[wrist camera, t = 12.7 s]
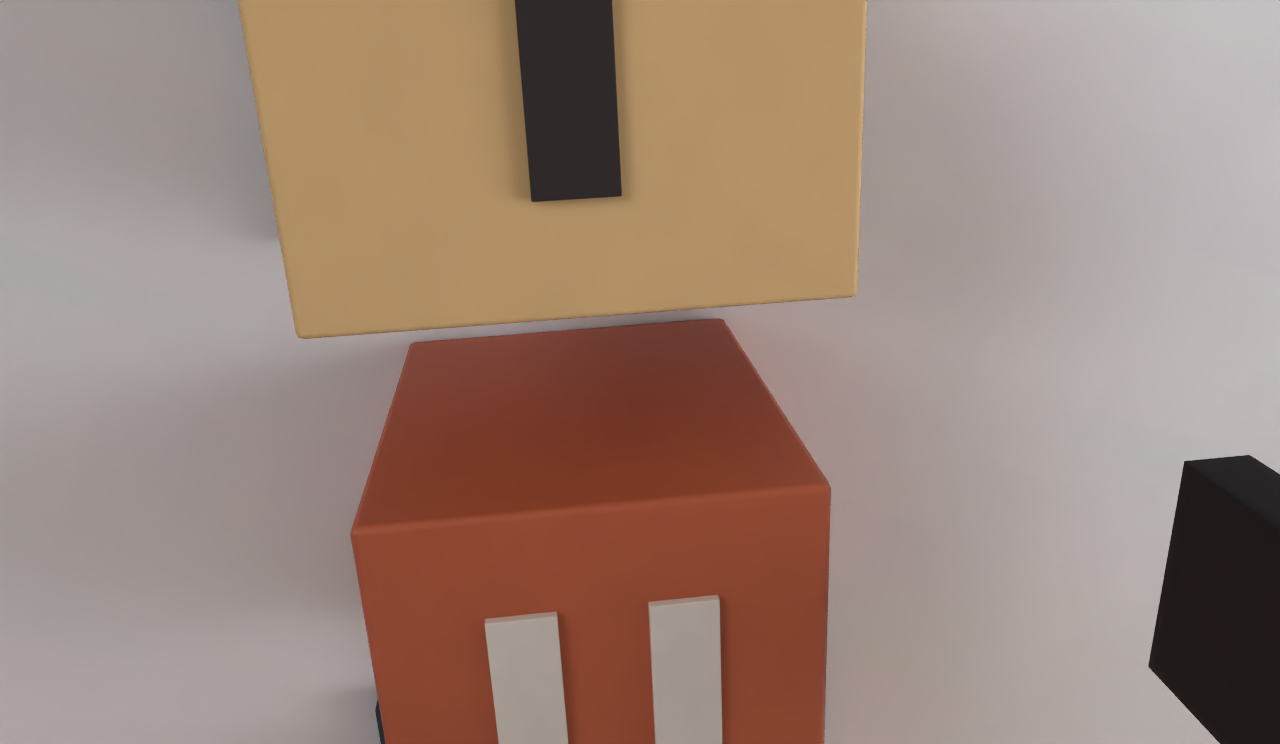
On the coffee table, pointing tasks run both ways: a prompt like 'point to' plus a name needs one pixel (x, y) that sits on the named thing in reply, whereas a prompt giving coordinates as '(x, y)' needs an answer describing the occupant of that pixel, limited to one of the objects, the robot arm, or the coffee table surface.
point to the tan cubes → (557, 156)
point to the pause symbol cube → (594, 545)
